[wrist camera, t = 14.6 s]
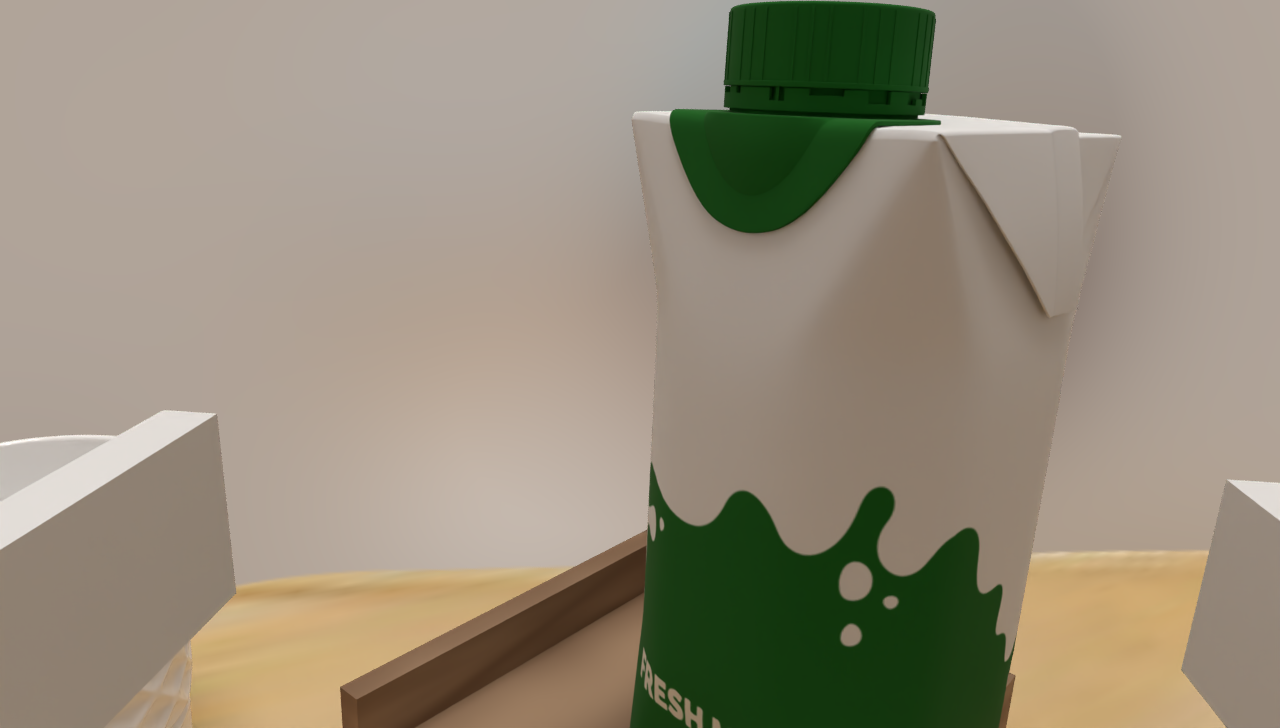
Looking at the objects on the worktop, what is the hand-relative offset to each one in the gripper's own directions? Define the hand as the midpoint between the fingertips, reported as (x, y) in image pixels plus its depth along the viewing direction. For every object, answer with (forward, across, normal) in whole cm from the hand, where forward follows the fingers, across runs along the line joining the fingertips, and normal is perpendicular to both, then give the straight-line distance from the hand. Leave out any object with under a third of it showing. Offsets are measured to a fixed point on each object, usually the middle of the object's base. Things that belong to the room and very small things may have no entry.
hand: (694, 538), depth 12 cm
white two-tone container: (+10, +3, -13) cm, 17 cm away
